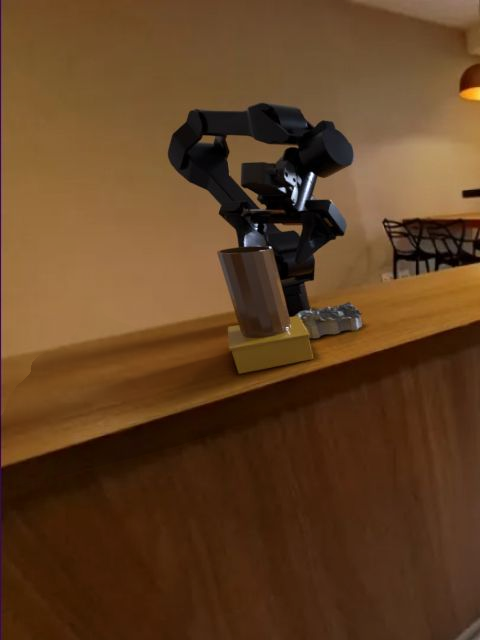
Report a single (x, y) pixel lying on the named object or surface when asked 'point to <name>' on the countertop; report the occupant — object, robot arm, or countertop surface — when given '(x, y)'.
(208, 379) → the countertop surface
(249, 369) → the yellow block
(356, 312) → the grey knobbed block
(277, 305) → the brown faceted cup
